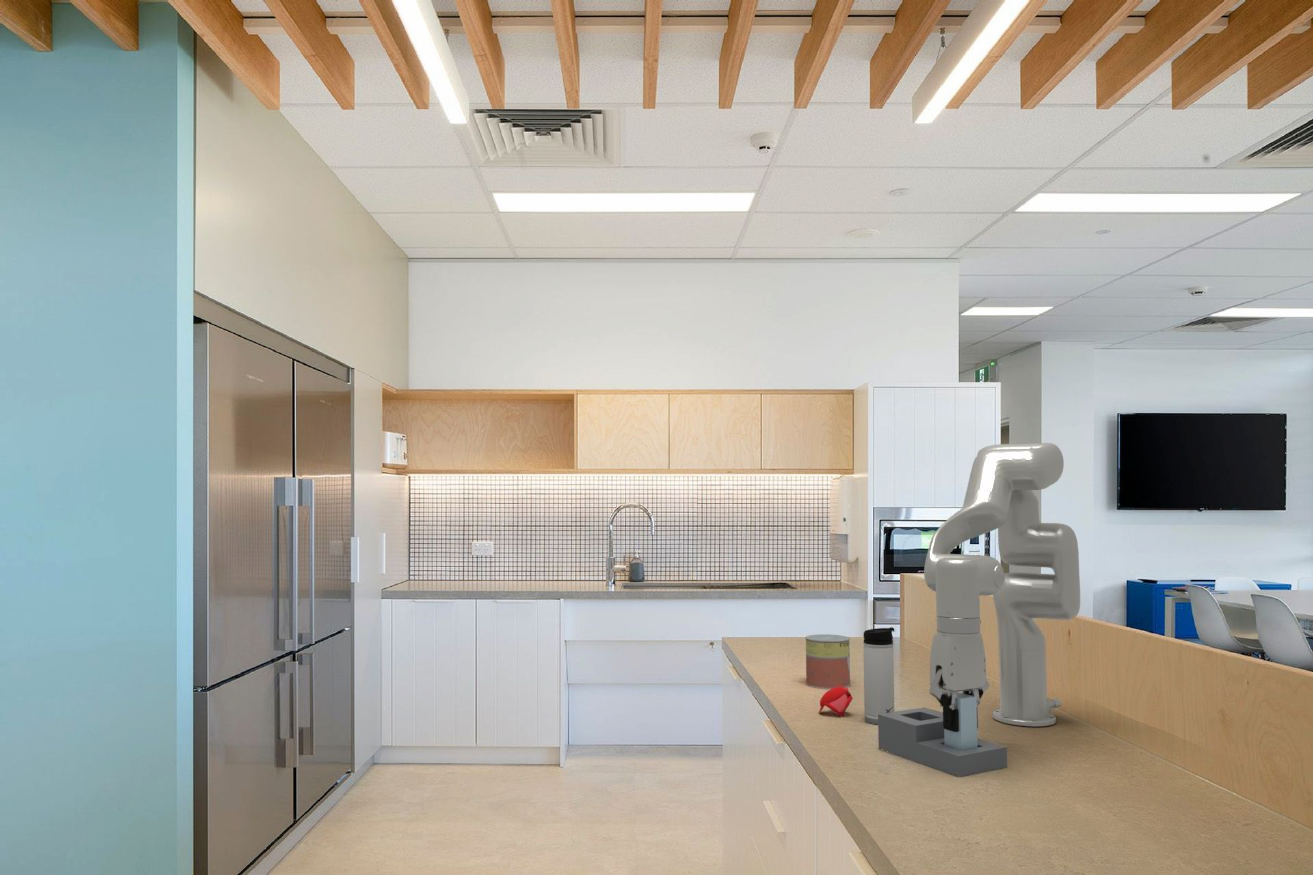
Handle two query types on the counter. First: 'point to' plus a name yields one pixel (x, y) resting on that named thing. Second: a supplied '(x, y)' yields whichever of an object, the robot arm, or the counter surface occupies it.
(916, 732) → the socket panel
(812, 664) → the canned food
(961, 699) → the plug
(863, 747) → the counter surface
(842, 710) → the cap
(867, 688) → the travel mug
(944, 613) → the robot arm
